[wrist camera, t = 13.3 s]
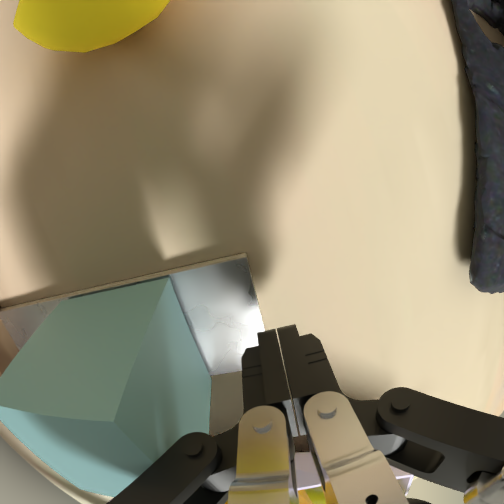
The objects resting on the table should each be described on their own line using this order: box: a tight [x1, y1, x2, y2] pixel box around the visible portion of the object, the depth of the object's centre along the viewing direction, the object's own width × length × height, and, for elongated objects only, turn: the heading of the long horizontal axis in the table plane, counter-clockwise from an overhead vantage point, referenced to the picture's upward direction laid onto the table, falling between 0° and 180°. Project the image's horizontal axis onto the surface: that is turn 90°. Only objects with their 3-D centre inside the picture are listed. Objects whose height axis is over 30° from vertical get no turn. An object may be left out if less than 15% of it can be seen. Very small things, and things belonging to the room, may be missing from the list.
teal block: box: [0, 278, 212, 497], centre depth 9 cm, size 6×6×7 cm
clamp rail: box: [0, 253, 265, 376], centre depth 13 cm, size 6×16×1 cm, turn 103°
